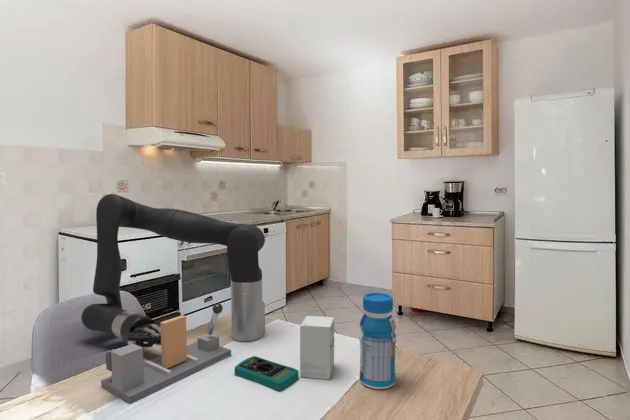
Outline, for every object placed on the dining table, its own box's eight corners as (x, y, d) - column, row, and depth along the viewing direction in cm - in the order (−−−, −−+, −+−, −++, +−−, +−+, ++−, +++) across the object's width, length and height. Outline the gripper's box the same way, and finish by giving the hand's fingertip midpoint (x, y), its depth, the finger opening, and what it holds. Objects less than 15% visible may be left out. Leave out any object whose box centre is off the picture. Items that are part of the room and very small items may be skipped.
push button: (122, 362, 91) (121, 347, 91) (126, 365, 90) (125, 349, 90) (106, 368, 89) (105, 353, 88) (110, 371, 87) (110, 355, 87)
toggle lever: (210, 330, 107) (219, 300, 104) (215, 335, 106) (225, 306, 103) (202, 333, 105) (211, 302, 102) (208, 339, 104) (218, 308, 101)
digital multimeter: (253, 364, 101) (252, 353, 100) (300, 380, 92) (300, 368, 92) (232, 376, 95) (231, 364, 94) (280, 394, 86) (280, 381, 86)
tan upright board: (183, 358, 99) (182, 315, 98) (187, 359, 98) (185, 316, 97) (161, 367, 94) (160, 322, 93) (165, 369, 93) (164, 323, 92)
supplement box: (330, 380, 91) (330, 327, 90) (299, 377, 93) (298, 325, 92) (335, 365, 99) (335, 316, 98) (306, 363, 100) (305, 314, 99)
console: (201, 344, 112) (201, 311, 111) (231, 355, 105) (230, 320, 104) (101, 386, 89) (99, 345, 88) (130, 403, 82) (128, 359, 81)
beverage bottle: (372, 394, 85) (372, 303, 84) (352, 376, 93) (352, 293, 91) (403, 385, 89) (404, 298, 87) (381, 369, 96) (382, 289, 95)
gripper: (107, 321, 100) (146, 336, 90) (154, 307, 111) (193, 319, 101) (109, 349, 101) (147, 367, 91) (155, 333, 112) (194, 348, 102)
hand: (171, 342), depth 96 cm, fingers closed
